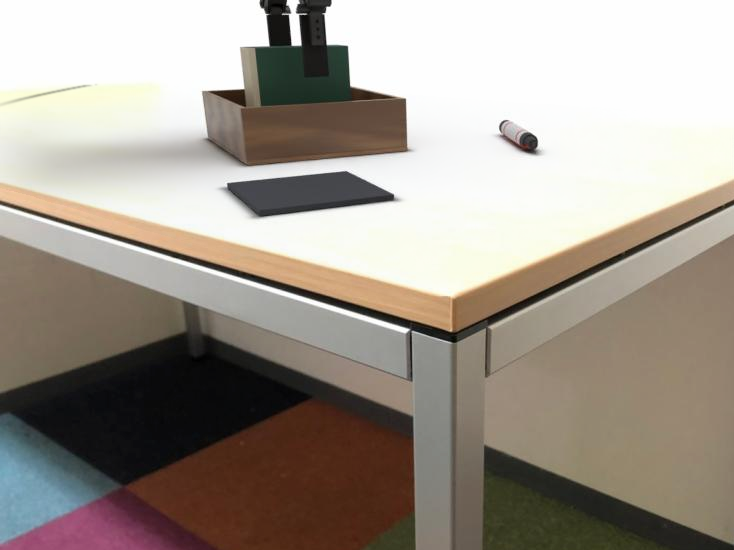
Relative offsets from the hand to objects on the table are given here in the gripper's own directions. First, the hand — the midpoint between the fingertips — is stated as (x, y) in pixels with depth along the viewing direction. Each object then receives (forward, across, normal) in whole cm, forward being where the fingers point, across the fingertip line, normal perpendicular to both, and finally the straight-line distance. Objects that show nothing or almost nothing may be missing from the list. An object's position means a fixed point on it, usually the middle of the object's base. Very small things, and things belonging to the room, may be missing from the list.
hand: (298, 73), depth 90 cm
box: (+8, 0, 0) cm, 8 cm away
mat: (+8, -27, +8) cm, 29 cm away
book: (+8, 0, 0) cm, 8 cm away
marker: (+9, -13, -24) cm, 28 cm away
